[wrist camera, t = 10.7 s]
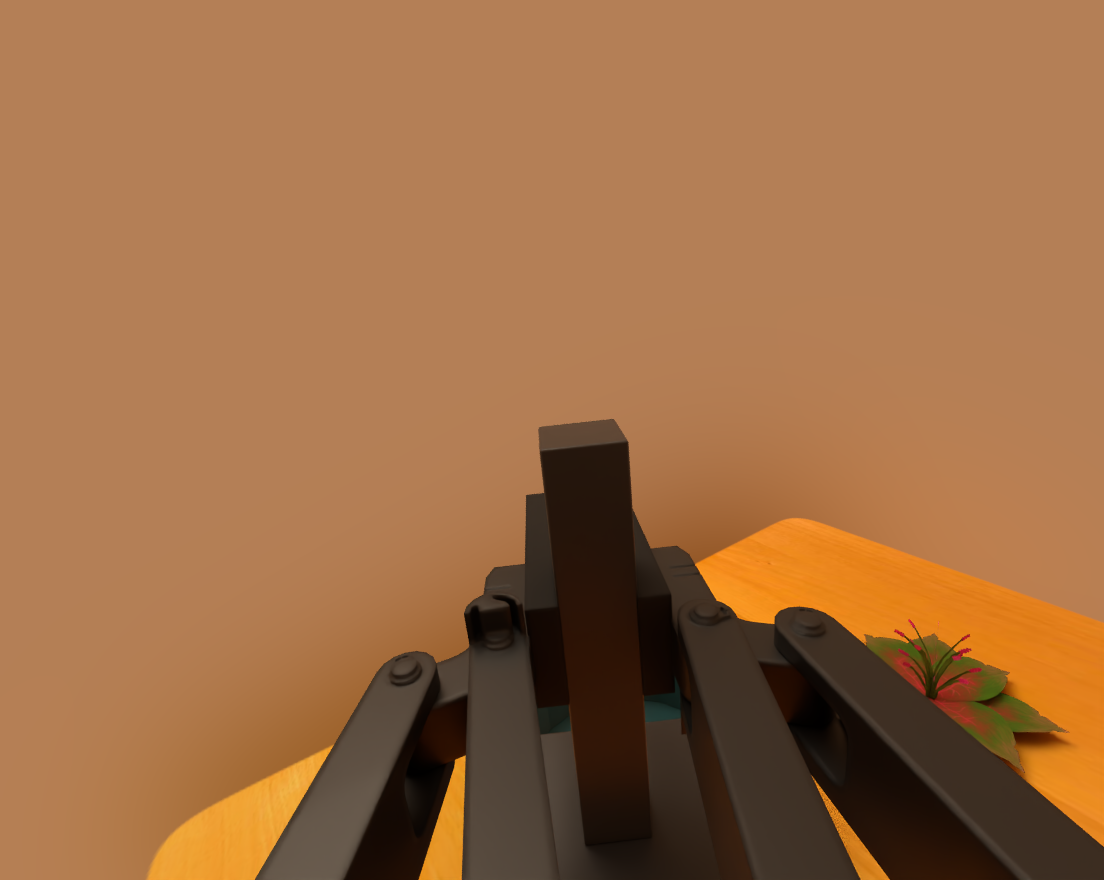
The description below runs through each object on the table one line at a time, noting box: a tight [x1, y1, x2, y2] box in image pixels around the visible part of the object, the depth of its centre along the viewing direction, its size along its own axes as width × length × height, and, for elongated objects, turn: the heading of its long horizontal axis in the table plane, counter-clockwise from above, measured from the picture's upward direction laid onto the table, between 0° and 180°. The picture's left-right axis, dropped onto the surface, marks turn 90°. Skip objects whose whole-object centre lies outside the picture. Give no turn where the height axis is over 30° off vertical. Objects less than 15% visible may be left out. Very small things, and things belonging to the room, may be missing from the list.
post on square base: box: [538, 419, 721, 880], centre depth 13 cm, size 6×6×14 cm
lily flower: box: [864, 619, 1069, 773], centre depth 32 cm, size 12×12×5 cm
